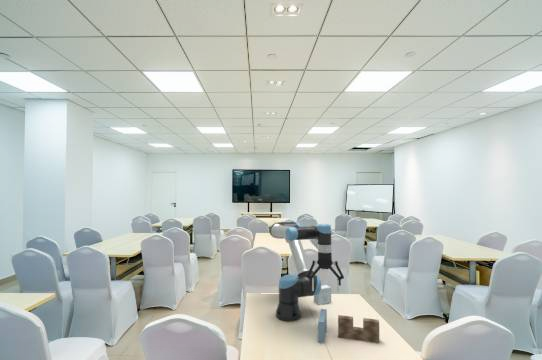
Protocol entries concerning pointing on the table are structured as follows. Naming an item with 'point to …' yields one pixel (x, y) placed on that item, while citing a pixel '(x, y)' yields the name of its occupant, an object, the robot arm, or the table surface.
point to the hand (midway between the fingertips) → (325, 290)
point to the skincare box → (323, 295)
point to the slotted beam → (358, 329)
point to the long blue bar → (322, 325)
